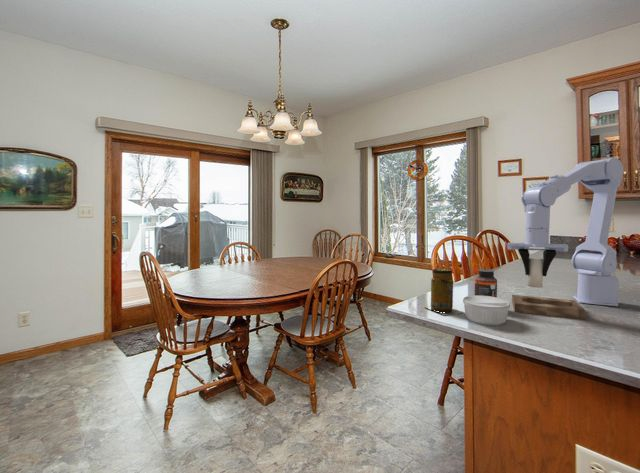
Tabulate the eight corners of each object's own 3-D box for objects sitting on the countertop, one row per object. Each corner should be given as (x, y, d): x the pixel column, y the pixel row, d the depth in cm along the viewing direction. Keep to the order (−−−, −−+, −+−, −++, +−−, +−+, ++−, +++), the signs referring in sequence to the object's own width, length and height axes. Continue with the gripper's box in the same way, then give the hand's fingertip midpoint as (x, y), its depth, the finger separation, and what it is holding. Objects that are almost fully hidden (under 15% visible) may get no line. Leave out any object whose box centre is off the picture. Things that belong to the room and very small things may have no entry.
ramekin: (488, 329, 79) (489, 308, 79) (453, 316, 90) (453, 297, 89) (519, 323, 84) (520, 303, 84) (482, 311, 94) (483, 293, 94)
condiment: (443, 305, 100) (443, 266, 100) (464, 313, 93) (464, 271, 92) (423, 308, 98) (424, 268, 97) (443, 316, 90) (443, 273, 89)
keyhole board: (574, 308, 96) (574, 300, 96) (584, 319, 86) (585, 310, 86) (511, 302, 103) (511, 294, 103) (514, 311, 93) (514, 303, 93)
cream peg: (541, 285, 96) (542, 258, 96) (543, 288, 93) (544, 260, 93) (527, 284, 98) (528, 258, 97) (528, 286, 95) (529, 259, 94)
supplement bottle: (499, 311, 94) (500, 272, 93) (477, 310, 95) (478, 271, 94) (492, 305, 100) (493, 268, 99) (471, 304, 101) (472, 268, 100)
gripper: (509, 228, 94) (507, 275, 95) (571, 229, 87) (569, 279, 88) (507, 227, 100) (506, 271, 101) (565, 228, 94) (563, 275, 95)
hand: (535, 275), depth 95 cm, fingers closed on cream peg, 4 cm apart
